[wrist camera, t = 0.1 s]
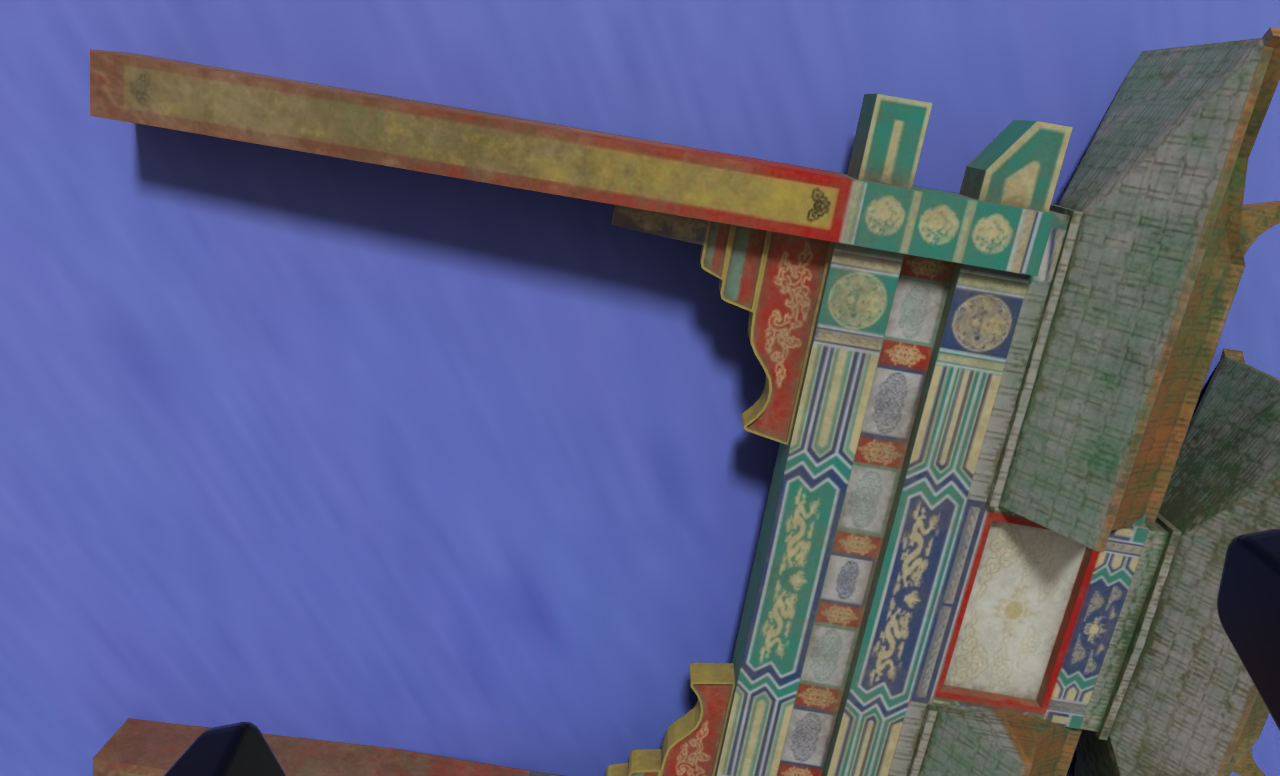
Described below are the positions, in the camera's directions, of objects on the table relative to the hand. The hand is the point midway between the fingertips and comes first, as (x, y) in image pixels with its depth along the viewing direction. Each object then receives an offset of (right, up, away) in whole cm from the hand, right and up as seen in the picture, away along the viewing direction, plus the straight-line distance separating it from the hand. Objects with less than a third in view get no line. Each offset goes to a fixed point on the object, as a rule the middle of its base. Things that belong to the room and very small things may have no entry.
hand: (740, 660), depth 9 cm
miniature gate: (+1, -1, +17) cm, 17 cm away
